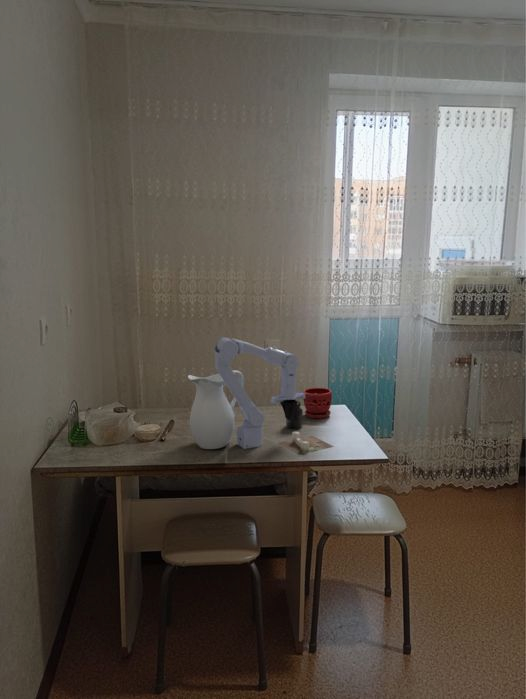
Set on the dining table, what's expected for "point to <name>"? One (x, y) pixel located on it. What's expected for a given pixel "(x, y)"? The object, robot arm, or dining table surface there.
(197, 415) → the pitcher
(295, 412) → the supplement bottle
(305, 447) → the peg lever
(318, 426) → the dining table surface
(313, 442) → the brown wooden board
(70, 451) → the dining table surface
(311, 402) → the plant pot
